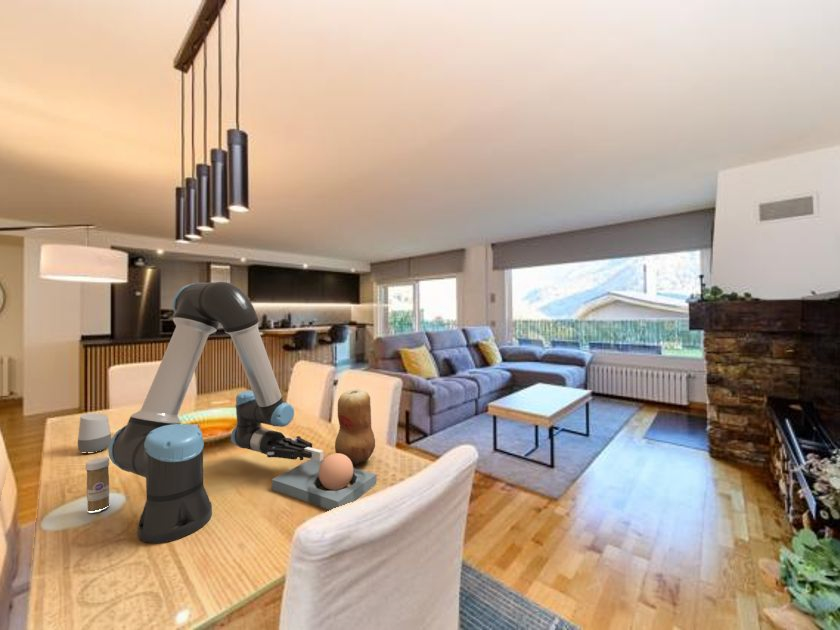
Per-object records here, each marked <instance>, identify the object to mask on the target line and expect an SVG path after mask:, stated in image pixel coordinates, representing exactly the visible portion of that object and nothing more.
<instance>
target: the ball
mask: <svg viewBox="0 0 840 630" xmlns="http://www.w3.org/2000/svg"><path fill="white" fill-rule="evenodd" d="M353 468H354V464H352V462H351V460H350V459H349V458H348V457H347V456H346V455H344V454H340V453H336V452H335V453H332V454H331V453H330V454H329V455H327V456H326V457H325V458H324V460H323V462H322V463H321V465H320V468H319V479H320V481H321V483H322V485H321V486H323V487H324V488H326V489H328V490H329V491H338V490H341V489H344V488H346V486H348V484H349V483H350V480H351V478H352V476H353Z"/></svg>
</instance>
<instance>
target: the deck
mask: <svg viewBox="0 0 840 630" xmlns="http://www.w3.org/2000/svg"><path fill="white" fill-rule="evenodd" d="M322 462H323V460H322V461H316V460H313V459H308V460H307V461H305V462H303V463H301V464H300V465H297V466H295V467H293V468H291V469H289V470H288V471H286V472H283V473H281V474H280V475H278V476H276V477H274V478H271V490H272V491H276V492H278V493H281V494H284V495H285V496H289V497H292V498H295V499H298V500H301V501H303V502H306V503H309V504H312V505H314V506H317V507H320V508H322V509H326V510H328V511H331V509H333V508H336V507H339V506H342V505H345V504H347V503H350V502H352V503H354V502H355V501H356V500H357V499H359V498H360V497H362V496H363V495H364V494H366V493H367V492H368V491H370V490H371V489H372V488H374V487H375V486H376V485H377V484H376V483H377V482H378V481H377V480H378V479H377V473H373V472H369V471H366V470H361V469H359V468H355V467H353V476H352V478H351V480H350V482H351V483H352V484H351V485H349V486H348V487H344V488H342V489H339V490H323V489H321V488H319V487H320V486H323V485H322V483H321V481H320V479H319V468H320V465H321V463H322ZM350 482H349V483H350ZM375 484H376V485H375ZM374 485H375V486H374ZM371 487H372V488H371ZM370 488H371V489H370ZM353 501H354V502H353Z"/></svg>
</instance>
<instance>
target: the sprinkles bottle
mask: <svg viewBox="0 0 840 630" xmlns="http://www.w3.org/2000/svg"><path fill="white" fill-rule="evenodd" d="M109 465H110V457H108V456H99V457H95V458H91V459H89V460H88V461H86V462H85V470H86V500H87V502H86V503H87V510H88V511H95V510H99V509H103V508H105V507H107V506H109V504H110V475H109ZM109 507H110V506H109Z"/></svg>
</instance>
